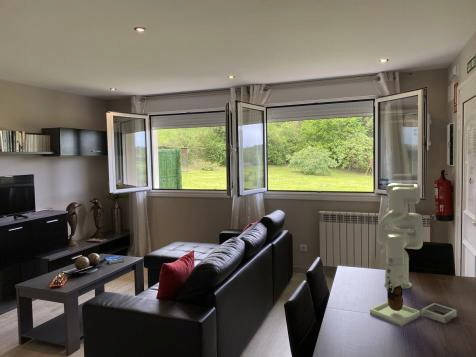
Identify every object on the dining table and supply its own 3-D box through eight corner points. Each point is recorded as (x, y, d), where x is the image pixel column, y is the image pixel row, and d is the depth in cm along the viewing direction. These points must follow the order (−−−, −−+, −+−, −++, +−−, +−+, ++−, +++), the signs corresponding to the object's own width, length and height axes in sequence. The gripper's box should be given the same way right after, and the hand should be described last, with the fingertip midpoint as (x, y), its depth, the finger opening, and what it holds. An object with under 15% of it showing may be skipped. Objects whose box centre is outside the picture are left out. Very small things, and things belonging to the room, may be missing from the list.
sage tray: (370, 313, 174) (370, 308, 174) (389, 305, 183) (389, 300, 183) (401, 326, 161) (401, 321, 161) (420, 316, 170) (420, 311, 170)
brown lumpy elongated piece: (405, 311, 169) (405, 280, 168) (395, 313, 168) (395, 281, 167) (395, 305, 176) (395, 275, 175) (385, 307, 174) (385, 277, 173)
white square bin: (421, 315, 171) (421, 309, 171) (433, 308, 178) (433, 302, 177) (444, 323, 163) (444, 317, 162) (456, 316, 169) (456, 310, 169)
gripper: (391, 266, 162) (391, 305, 164) (412, 258, 172) (412, 295, 173) (376, 262, 168) (377, 300, 170) (397, 255, 178) (397, 291, 180)
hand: (394, 297), depth 172 cm, fingers closed on brown lumpy elongated piece, 6 cm apart
